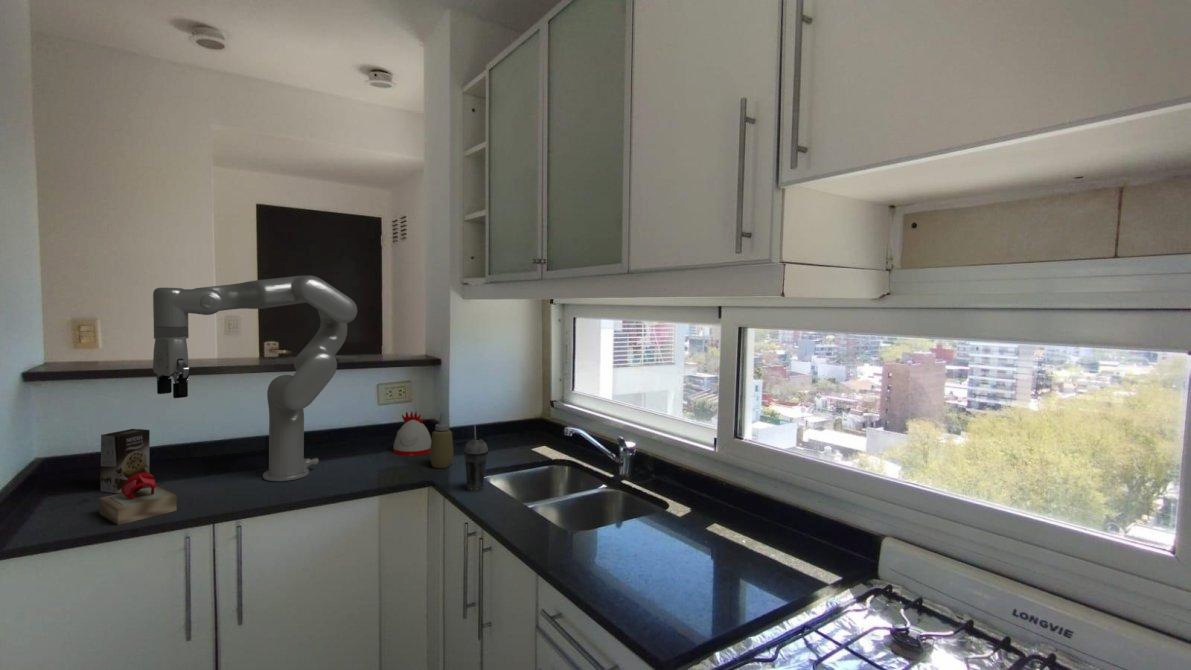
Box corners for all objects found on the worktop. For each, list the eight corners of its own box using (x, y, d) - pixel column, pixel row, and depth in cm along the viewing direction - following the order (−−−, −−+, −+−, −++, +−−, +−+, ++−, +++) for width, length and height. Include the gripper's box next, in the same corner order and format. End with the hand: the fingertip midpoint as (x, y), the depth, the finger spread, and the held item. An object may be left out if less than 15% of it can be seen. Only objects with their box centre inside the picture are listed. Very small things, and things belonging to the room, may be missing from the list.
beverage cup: (491, 487, 170) (493, 423, 169) (479, 495, 163) (481, 427, 162) (471, 484, 172) (472, 420, 171) (457, 491, 165) (459, 425, 164)
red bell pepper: (164, 482, 142) (159, 466, 145) (138, 480, 137) (133, 464, 140) (145, 506, 142) (140, 489, 145) (118, 505, 137) (114, 488, 140)
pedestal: (156, 500, 149) (156, 485, 149) (176, 510, 143) (176, 494, 143) (99, 513, 139) (99, 497, 139) (117, 525, 133) (117, 508, 132)
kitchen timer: (398, 446, 214) (399, 407, 213) (435, 446, 215) (435, 408, 215) (389, 455, 200) (389, 414, 199) (428, 456, 202) (429, 415, 201)
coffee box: (118, 494, 153) (117, 436, 152) (99, 491, 154) (99, 434, 153) (150, 483, 162) (150, 429, 161) (133, 481, 163) (132, 427, 162)
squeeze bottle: (424, 467, 187) (425, 414, 186) (439, 461, 195) (440, 411, 194) (443, 471, 184) (444, 417, 183) (458, 465, 192) (459, 413, 191)
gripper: (141, 331, 152) (142, 393, 153) (169, 335, 143) (170, 401, 144) (173, 331, 158) (174, 390, 159) (202, 334, 149) (203, 397, 150)
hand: (172, 395), depth 151 cm, fingers open, 9 cm apart
